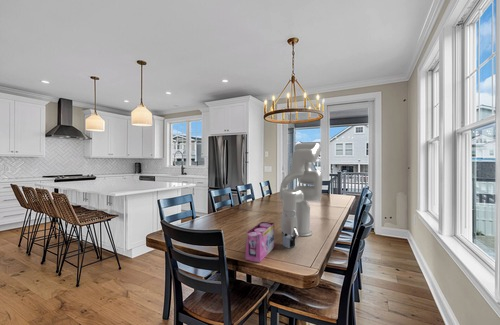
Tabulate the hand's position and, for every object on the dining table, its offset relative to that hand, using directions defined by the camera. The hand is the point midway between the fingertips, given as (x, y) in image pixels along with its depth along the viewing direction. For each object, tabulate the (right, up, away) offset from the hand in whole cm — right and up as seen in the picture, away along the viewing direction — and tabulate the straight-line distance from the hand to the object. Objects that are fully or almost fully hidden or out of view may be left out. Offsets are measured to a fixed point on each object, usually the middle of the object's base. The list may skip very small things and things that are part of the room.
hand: (289, 244), depth 136 cm
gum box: (-16, -1, -10) cm, 19 cm away
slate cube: (0, -1, 0) cm, 1 cm away
